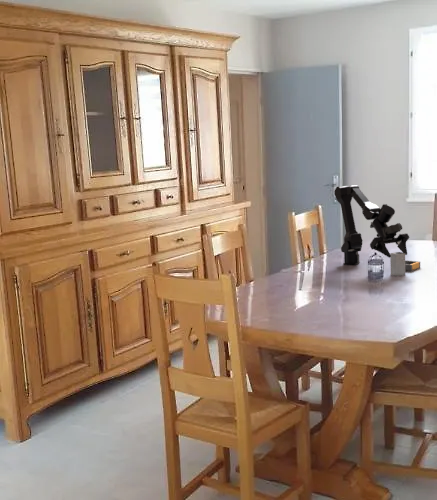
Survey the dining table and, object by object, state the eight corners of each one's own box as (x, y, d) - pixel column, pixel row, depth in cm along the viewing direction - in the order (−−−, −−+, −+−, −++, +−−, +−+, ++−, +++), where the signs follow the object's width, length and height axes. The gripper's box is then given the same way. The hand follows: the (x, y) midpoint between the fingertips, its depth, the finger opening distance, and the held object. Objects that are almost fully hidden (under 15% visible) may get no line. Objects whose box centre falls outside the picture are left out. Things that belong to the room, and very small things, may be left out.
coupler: (393, 269, 307) (393, 263, 306) (402, 266, 313) (402, 260, 313) (411, 271, 301) (411, 265, 300) (420, 268, 307) (420, 261, 307)
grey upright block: (390, 275, 296) (390, 252, 295) (399, 273, 298) (399, 251, 297) (396, 276, 293) (396, 253, 291) (405, 274, 295) (405, 252, 293)
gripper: (373, 220, 292) (389, 247, 284) (406, 215, 299) (423, 242, 291) (362, 235, 300) (378, 262, 292) (395, 231, 308) (411, 257, 300)
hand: (398, 255), depth 294 cm, fingers open, 9 cm apart
